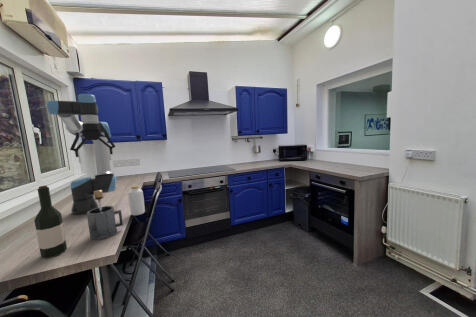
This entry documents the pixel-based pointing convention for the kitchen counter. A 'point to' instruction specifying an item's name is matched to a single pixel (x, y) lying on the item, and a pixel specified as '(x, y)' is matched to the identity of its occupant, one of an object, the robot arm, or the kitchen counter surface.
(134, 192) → the white rounded cylinder
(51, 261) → the kitchen counter surface
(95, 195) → the plunger
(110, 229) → the dark grey mug
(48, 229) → the wine bottle
